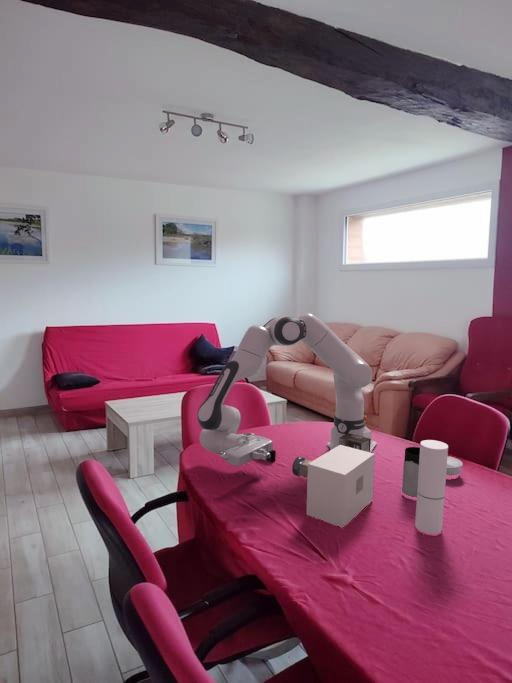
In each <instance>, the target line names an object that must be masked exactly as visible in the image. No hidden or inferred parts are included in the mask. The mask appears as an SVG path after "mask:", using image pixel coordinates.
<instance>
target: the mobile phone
mask: <svg viewBox="0 0 512 683" xmlns="http://www.w3.org/2000/svg"><path fill="white" fill-rule="evenodd" d="M269 453H270V458H268V459H266V460H265V461H267V462H269V463H274V462H276V456H277V455H276V454H277V451H276V450H275V449H274V448H273V449H272V450H271V451H269Z"/></svg>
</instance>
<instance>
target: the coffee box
mask: <svg viewBox="0 0 512 683" xmlns="http://www.w3.org/2000/svg"><path fill="white" fill-rule="evenodd" d="M371 440H372V438H371V439H369V438H366V437H362V436H358V435H354V434H350V433H347V434H345V435H343V436H342V437H339V445H343V446H347V447H351V448H355V449H359V450H362V451H366V452H370V442H371Z"/></svg>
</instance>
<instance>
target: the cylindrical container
mask: <svg viewBox="0 0 512 683" xmlns="http://www.w3.org/2000/svg"><path fill="white" fill-rule="evenodd" d="M419 448H420V457H419V473H418V489H417V501H416V508H415V521H414V522H415V523H414V527H415V526H416V527H417V528H418V529H419V530H420V531H423V532H425V533H430V534H436V533H439V532H441V531H442V532H443V524H444V523H443V521H444V509H445V507H444V506H445V495H446V485H447V484H446V483H447V480H446V470H447V456H448V455H449V454H448V453H449V445H448V444H447V443H445V442H443V441H439V440H435V439H426V440H425V439H424V440H421V441H420V444H419Z"/></svg>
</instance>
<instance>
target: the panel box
mask: <svg viewBox="0 0 512 683" xmlns="http://www.w3.org/2000/svg"><path fill="white" fill-rule="evenodd" d="M375 456H376V455H375V453H373V452H372V453H370V452H366V451H362V450H359V449H355V448H351V447H347V446H343V445H339V446H337V447H335V448H334V449H332V450H328V451H327V452H325V453H324V454H322V455H320V456H319V457H317V458H316V459H315V458H314V459H313V460H311V461H312V462H310V463H309V464H308V478H307V480H306V481H307V485H306V486H307V488H306V491H307V492H306V514H307V515H306V516H308V515H310V516H312V517H311V518H313V517H315V518H314V519H316V518H318V519H321V520H324V521H326V522H329V523H331V524H330V525H332V524H334V525H337V526H340V527H344V526H345V525H346V524H347V523H348V522H350V521H351V520H352V519H353V518H354V517H355V516H356V515H357V514H358V513H359V512H360V511H361V510H362V509H363V508H364V507H365V506H366V505H367V504H369V503H370V502H371V501H372V502H373V496H374V493H373V492H374V479H375V478H374V475H375V474H374V473H375ZM310 516H309V517H310ZM356 517H357V516H356ZM356 517H355V518H356ZM355 518H354V519H355ZM318 519H317V520H318ZM354 519H353V520H354ZM321 520H320V521H321ZM353 520H352V521H353ZM324 521H323V522H324ZM352 521H351V522H352ZM326 522H325V523H326ZM351 522H350V523H351ZM329 523H328V524H329ZM334 525H333V526H334ZM337 526H336V527H337ZM345 527H346V526H345ZM345 527H344V528H345Z"/></svg>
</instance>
